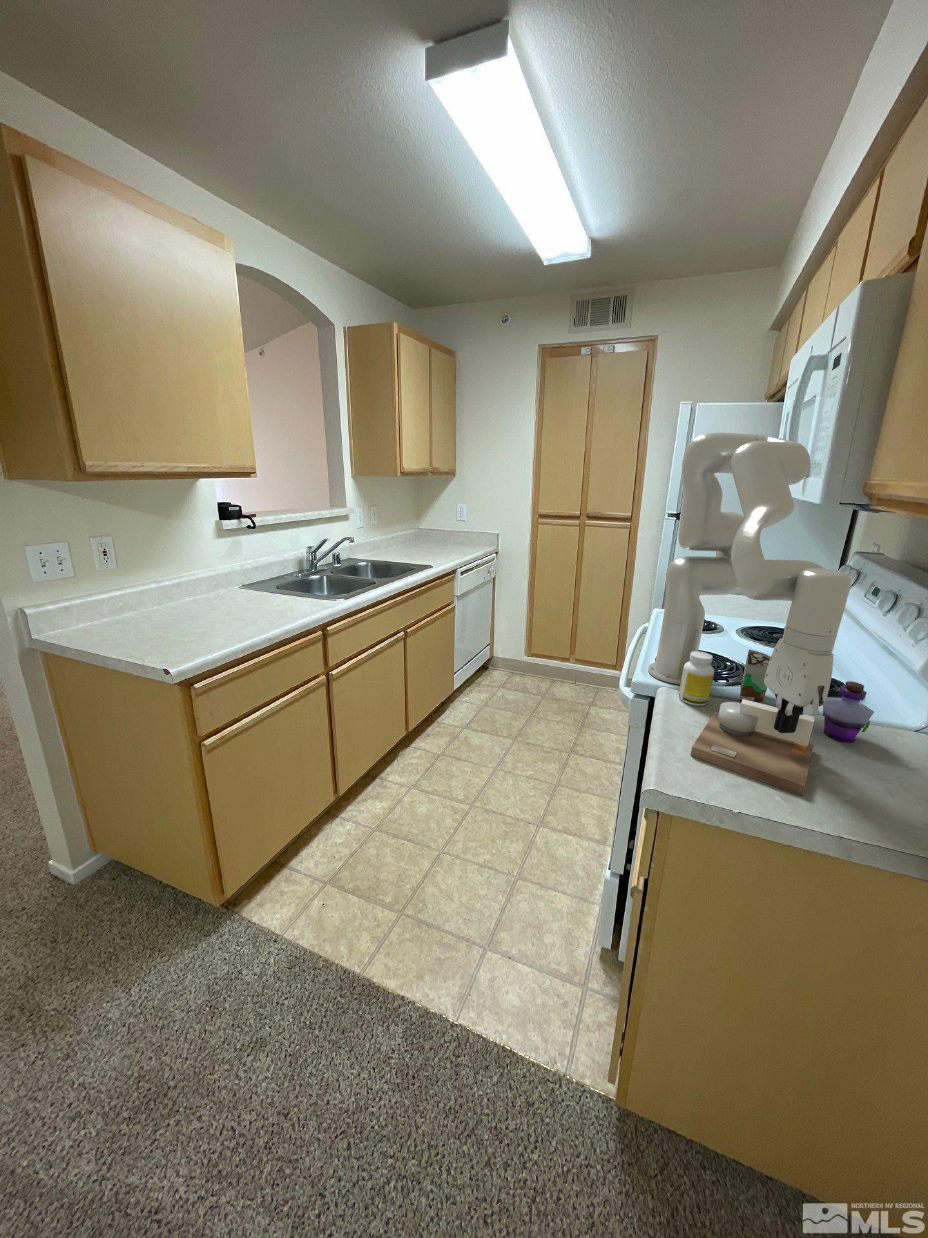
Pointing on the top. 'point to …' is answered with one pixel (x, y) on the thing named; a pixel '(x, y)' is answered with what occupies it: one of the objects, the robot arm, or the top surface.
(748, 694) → the food container
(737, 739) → the post base
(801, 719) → the white bar with knob
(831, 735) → the potion bottle
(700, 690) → the pill bottle
